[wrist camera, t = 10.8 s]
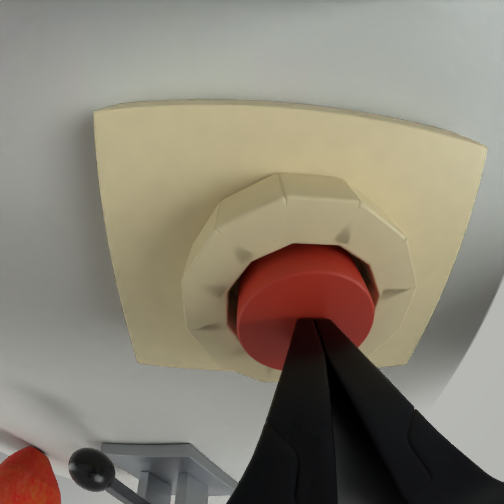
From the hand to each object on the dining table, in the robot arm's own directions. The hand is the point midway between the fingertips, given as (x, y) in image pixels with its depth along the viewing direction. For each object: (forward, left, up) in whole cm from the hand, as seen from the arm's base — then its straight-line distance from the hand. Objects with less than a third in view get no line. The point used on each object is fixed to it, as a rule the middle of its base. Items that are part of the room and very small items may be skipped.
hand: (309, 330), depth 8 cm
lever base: (+7, +25, -5) cm, 26 cm away
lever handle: (+9, +20, -1) cm, 22 cm away
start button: (0, 0, -2) cm, 2 cm away
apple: (+26, +30, -5) cm, 40 cm away
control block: (0, 0, -5) cm, 5 cm away
